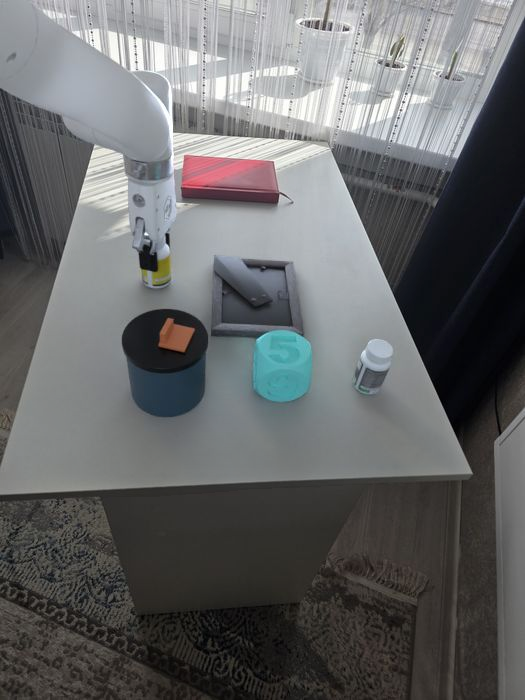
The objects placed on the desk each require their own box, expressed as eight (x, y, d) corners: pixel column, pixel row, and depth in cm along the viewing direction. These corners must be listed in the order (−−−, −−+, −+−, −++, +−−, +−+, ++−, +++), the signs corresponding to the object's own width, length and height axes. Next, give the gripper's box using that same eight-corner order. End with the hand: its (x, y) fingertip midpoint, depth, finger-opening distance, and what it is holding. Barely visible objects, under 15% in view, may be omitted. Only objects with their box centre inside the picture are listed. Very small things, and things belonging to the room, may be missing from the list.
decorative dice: (300, 365, 78) (309, 330, 72) (304, 403, 72) (314, 369, 66) (252, 362, 77) (257, 327, 71) (253, 401, 71) (258, 366, 66)
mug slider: (158, 346, 62) (157, 336, 60) (169, 325, 65) (169, 314, 64) (184, 352, 62) (184, 342, 60) (194, 330, 65) (194, 320, 63)
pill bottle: (386, 389, 76) (402, 354, 70) (363, 399, 74) (378, 363, 68) (368, 369, 79) (383, 333, 73) (345, 378, 77) (359, 342, 71)
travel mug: (116, 408, 68) (106, 356, 60) (146, 353, 76) (141, 300, 68) (193, 427, 67) (193, 376, 59) (215, 369, 75) (218, 318, 67)
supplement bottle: (176, 276, 90) (174, 232, 83) (163, 292, 87) (160, 248, 80) (150, 268, 91) (147, 224, 84) (136, 284, 87) (131, 239, 80)
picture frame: (213, 263, 95) (210, 335, 80) (214, 254, 93) (211, 327, 79) (291, 268, 96) (302, 340, 82) (293, 260, 95) (304, 331, 80)
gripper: (151, 193, 66) (158, 292, 79) (189, 146, 78) (189, 239, 91) (101, 183, 67) (116, 283, 80) (146, 138, 79) (153, 231, 92)
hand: (155, 259), depth 85 cm, fingers closed on supplement bottle, 5 cm apart
